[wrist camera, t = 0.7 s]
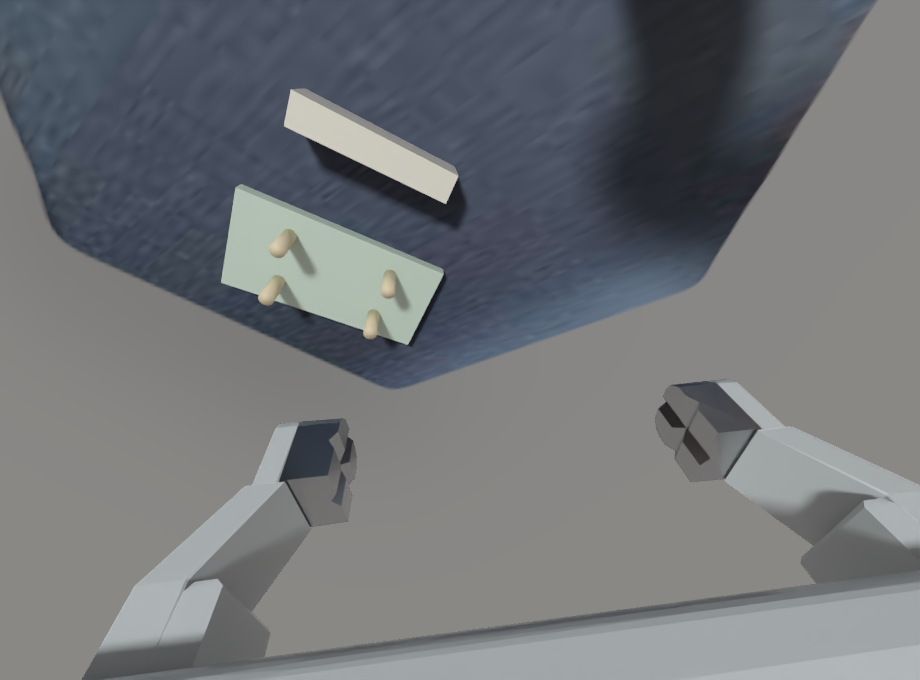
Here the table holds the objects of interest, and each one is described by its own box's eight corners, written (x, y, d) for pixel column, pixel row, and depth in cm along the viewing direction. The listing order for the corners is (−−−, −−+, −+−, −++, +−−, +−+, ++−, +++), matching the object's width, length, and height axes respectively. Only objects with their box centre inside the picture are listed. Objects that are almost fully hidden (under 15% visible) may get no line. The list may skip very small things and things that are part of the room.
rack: (226, 277, 45) (203, 301, 40) (241, 184, 39) (216, 198, 34) (408, 338, 53) (407, 365, 48) (443, 269, 47) (446, 291, 42)
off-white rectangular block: (298, 121, 36) (283, 126, 32) (305, 88, 35) (290, 89, 31) (443, 192, 42) (445, 204, 38) (454, 166, 40) (458, 176, 36)
